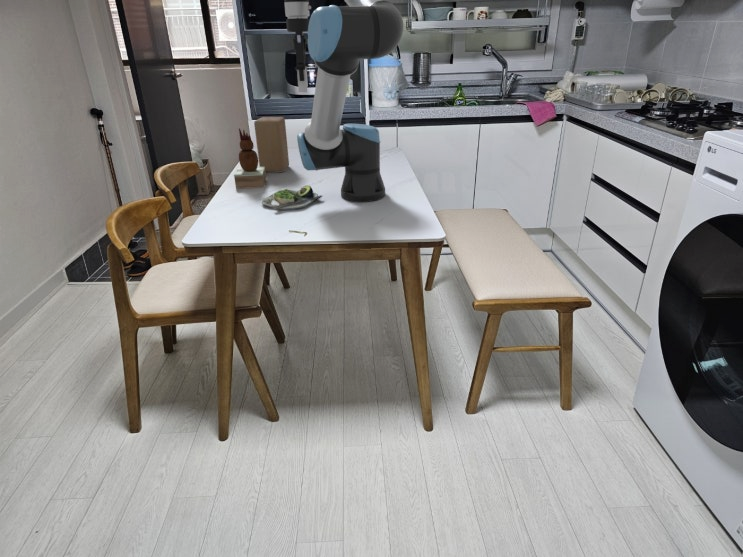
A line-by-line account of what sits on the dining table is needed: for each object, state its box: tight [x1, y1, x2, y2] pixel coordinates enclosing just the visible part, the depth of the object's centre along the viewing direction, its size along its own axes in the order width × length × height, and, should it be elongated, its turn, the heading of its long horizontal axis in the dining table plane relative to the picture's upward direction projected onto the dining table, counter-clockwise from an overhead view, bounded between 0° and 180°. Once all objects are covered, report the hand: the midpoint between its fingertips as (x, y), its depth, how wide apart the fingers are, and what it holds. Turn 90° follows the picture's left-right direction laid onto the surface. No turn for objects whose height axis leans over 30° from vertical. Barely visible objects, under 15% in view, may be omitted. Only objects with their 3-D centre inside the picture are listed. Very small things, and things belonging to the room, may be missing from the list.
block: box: [253, 116, 290, 173], centre depth 194 cm, size 10×10×20 cm
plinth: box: [233, 166, 267, 189], centre depth 179 cm, size 10×10×5 cm
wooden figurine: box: [238, 128, 259, 172], centre depth 174 cm, size 7×6×15 cm
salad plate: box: [261, 185, 323, 211], centre depth 158 cm, size 19×18×5 cm
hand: (303, 89), depth 163 cm, fingers open, 13 cm apart
